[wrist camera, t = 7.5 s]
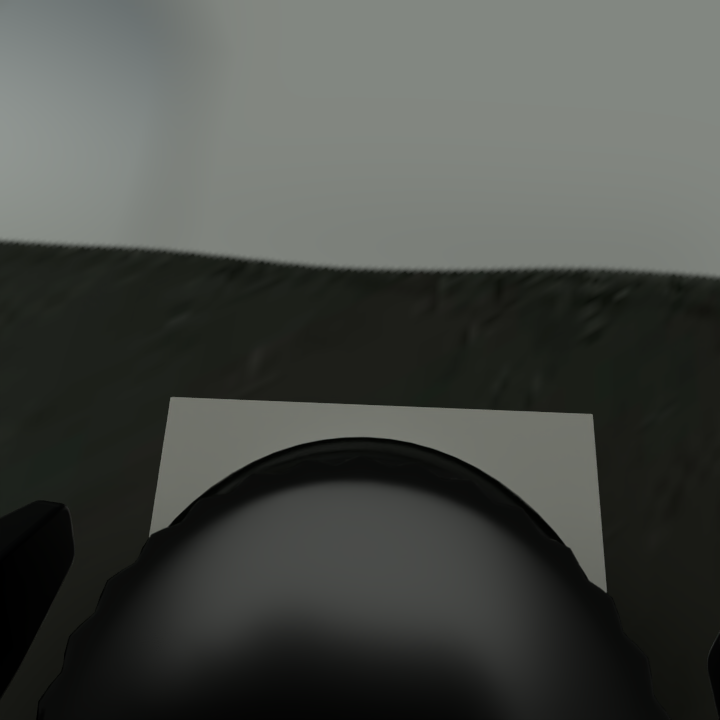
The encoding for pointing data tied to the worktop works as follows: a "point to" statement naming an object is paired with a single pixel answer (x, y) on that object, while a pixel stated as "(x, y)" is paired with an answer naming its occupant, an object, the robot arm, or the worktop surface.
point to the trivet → (410, 424)
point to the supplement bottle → (354, 604)
